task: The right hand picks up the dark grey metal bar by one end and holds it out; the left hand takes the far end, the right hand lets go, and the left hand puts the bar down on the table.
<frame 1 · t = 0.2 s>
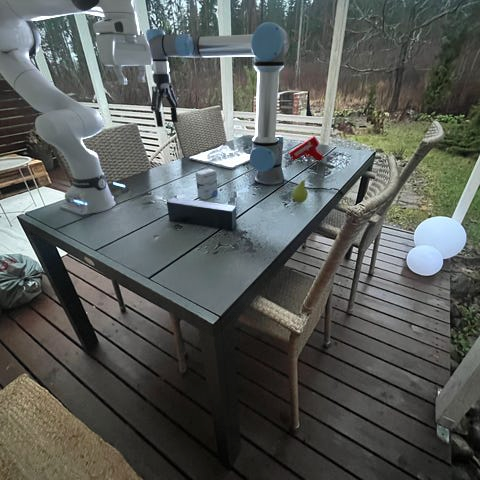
left hand: (133, 83, 86), 47 cm above the table, tool pointing down, fingers open, 8 cm apart
right hand: (167, 124, 132), 28 cm above the table, tool pointing down, fingers open, 13 cm apart
relief map: (223, 158, 179), on the table
bar: (202, 223, 106), on the table
ink box: (207, 196, 128), on the table
toy gun: (305, 161, 174), on the table
fruit: (299, 202, 122), on the table
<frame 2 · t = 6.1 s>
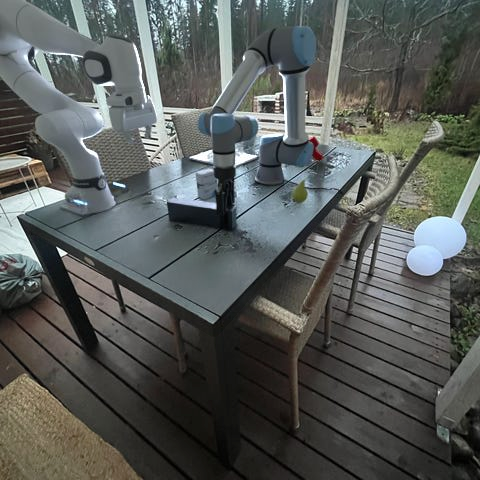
left hand: (140, 141, 96), 29 cm above the table, tool pointing down, fingers open, 8 cm apart
right hand: (226, 225, 103), 1 cm above the table, tool pointing down, fingers closed on bar, 5 cm apart
bar: (202, 223, 106), on the table, touching right hand
everything else where it was.
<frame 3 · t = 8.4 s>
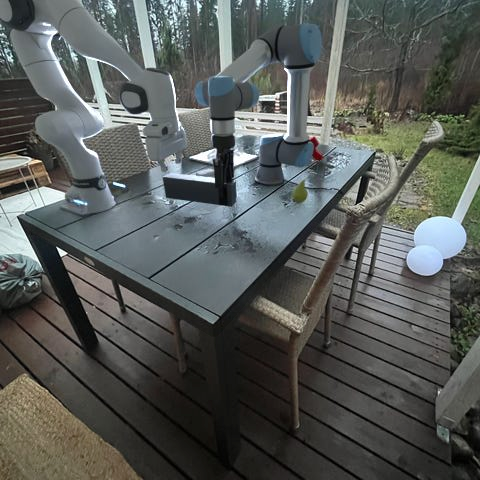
left hand: (171, 167, 97), 21 cm above the table, tool pointing down, fingers open, 8 cm apart
right hand: (225, 201, 97), 11 cm above the table, tool pointing down, fingers closed on bar, 5 cm apart
bar: (200, 199, 101), point 10 cm above the table, touching right hand
everything else where it was.
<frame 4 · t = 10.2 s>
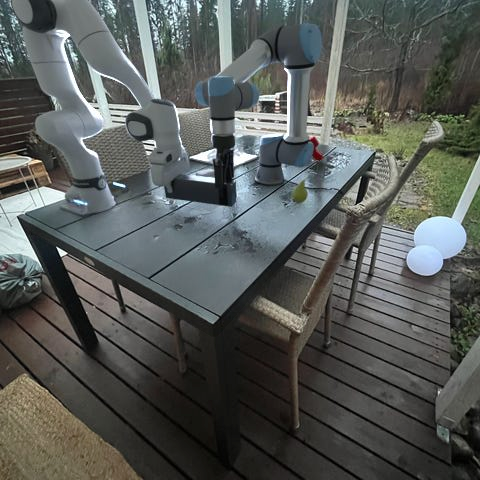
left hand: (174, 189, 102), 13 cm above the table, tool pointing down, fingers closed on bar, 4 cm apart
right hand: (225, 201, 97), 11 cm above the table, tool pointing down, fingers closed on bar, 5 cm apart
bar: (200, 199, 101), point 10 cm above the table, touching right hand, left hand
everything else where it was.
when the right hand's fingers open (11 cm above the table, at t = 11.0 s): bar stays where it is, held by the left hand.
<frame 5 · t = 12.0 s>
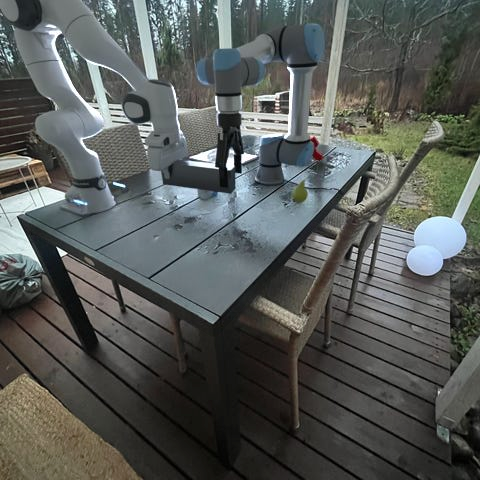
left hand: (172, 175, 99), 18 cm above the table, tool pointing down, fingers closed on bar, 4 cm apart
right hand: (231, 179, 93), 19 cm above the table, tool pointing down, fingers open, 13 cm apart
bar: (198, 186, 98), point 15 cm above the table, touching left hand
everything else where it was.
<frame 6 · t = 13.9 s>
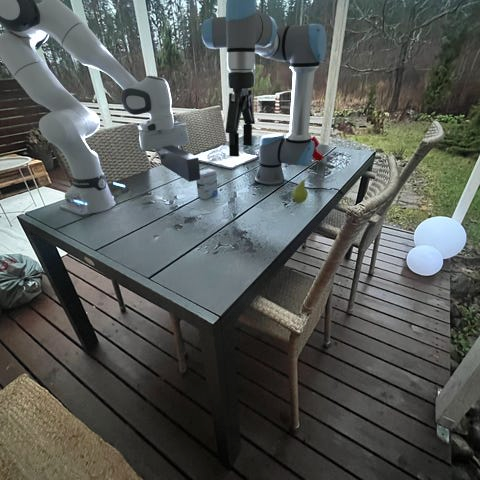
left hand: (167, 158, 116), 19 cm above the table, tool pointing down, fingers closed on bar, 4 cm apart
right hand: (241, 150, 86), 29 cm above the table, tool pointing down, fingers open, 13 cm apart
bar: (179, 171, 110), point 16 cm above the table, touching left hand
everything else where it was.
when the left hand's fingers open (4 cm above the table, at t = 17.6 s): bar stays where it is, on the table.
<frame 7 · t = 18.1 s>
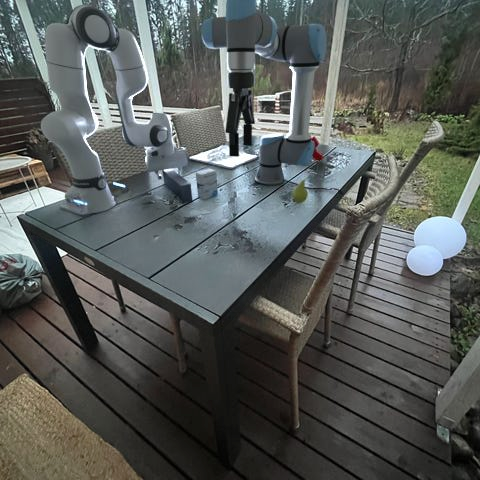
left hand: (169, 177, 137), 4 cm above the table, tool pointing down, fingers open, 8 cm apart
right hand: (241, 150, 86), 29 cm above the table, tool pointing down, fingers open, 13 cm apart
bar: (177, 192, 132), on the table
everything else where it was.
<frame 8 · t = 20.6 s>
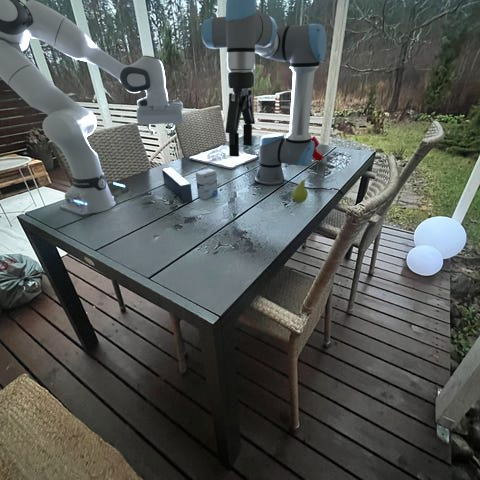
left hand: (163, 133, 126), 25 cm above the table, tool pointing down, fingers open, 8 cm apart
right hand: (241, 150, 86), 29 cm above the table, tool pointing down, fingers open, 13 cm apart
nothing on the table moved.
at the end: bar inside the target area (10.2 cm from its centre), on the table; the left hand is holding nothing; the right hand is holding nothing; bar at rest at the end (0.0 cm/s) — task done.
